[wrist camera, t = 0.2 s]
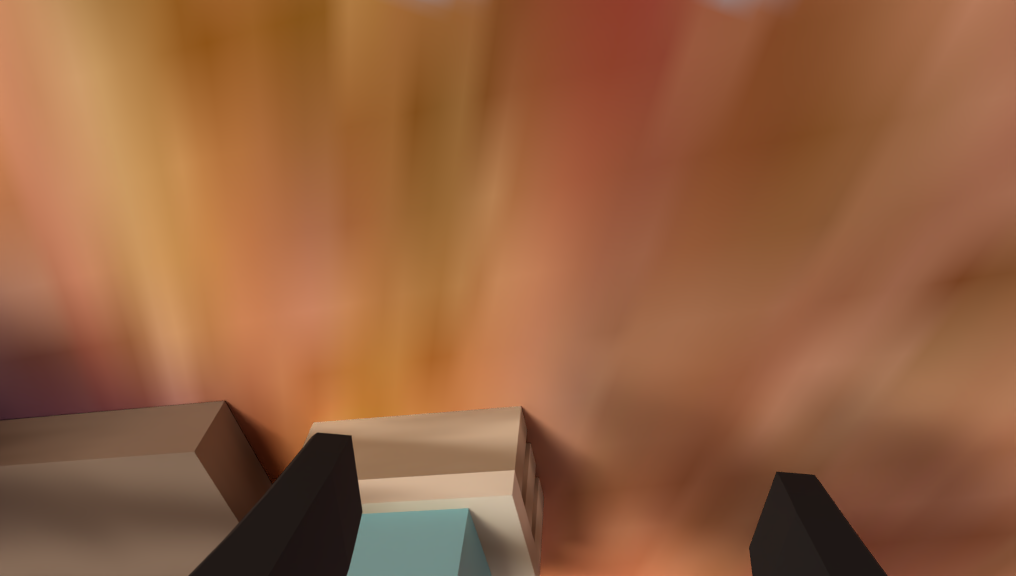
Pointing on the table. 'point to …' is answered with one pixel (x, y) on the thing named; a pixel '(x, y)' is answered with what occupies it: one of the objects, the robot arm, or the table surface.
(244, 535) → the robot arm
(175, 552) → the dock
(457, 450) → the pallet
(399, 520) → the teal block
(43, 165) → the table surface
